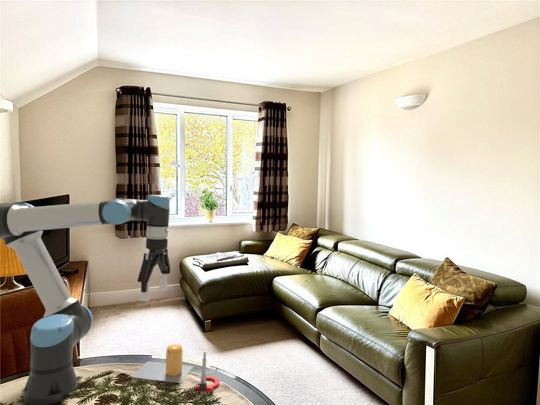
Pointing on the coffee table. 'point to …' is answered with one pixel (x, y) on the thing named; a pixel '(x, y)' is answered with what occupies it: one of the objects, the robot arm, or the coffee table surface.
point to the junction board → (160, 372)
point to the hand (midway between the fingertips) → (154, 295)
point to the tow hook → (203, 384)
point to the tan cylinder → (174, 360)
